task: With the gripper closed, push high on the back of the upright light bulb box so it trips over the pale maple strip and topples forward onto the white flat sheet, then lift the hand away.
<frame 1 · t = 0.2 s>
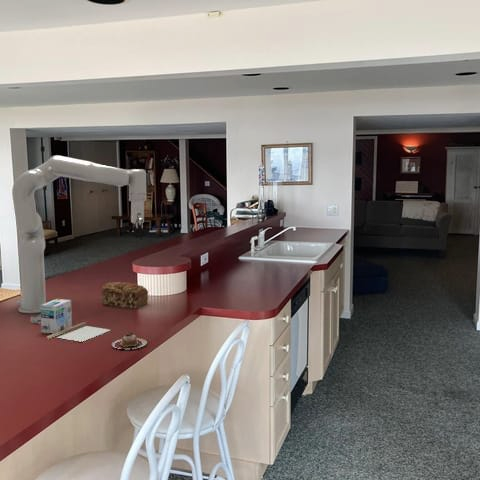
hand: (138, 235, 240), 31 cm above the countertop, tool pointing down, fingers open, 9 cm apart
white flat sheet: (84, 334, 198), on the countertop
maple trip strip: (67, 331, 201), on the countertop
bread: (125, 305, 243), on the countertop
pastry: (129, 347, 187), on the countertop
light bulb box: (57, 330, 204), on the countertop
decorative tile: (51, 321, 216), on the countertop
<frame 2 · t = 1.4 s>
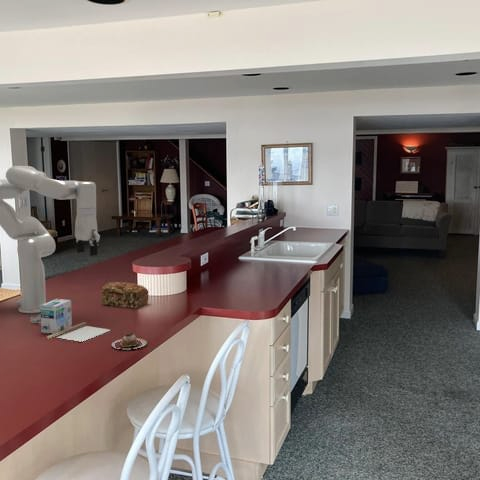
hand: (87, 253, 221), 26 cm above the countertop, tool pointing down, fingers open, 9 cm apart
nothing on the countertop moved.
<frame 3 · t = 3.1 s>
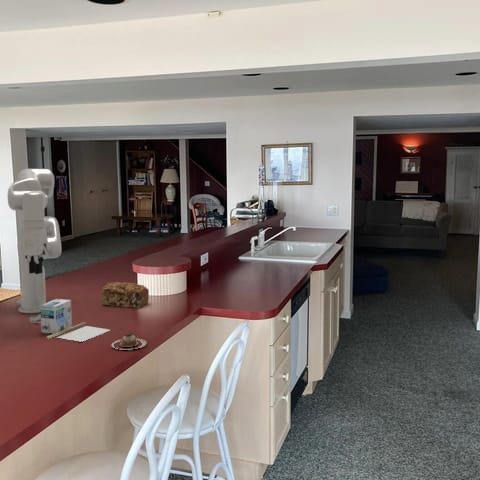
hand: (35, 272, 205), 21 cm above the countertop, tool pointing down, fingers closed
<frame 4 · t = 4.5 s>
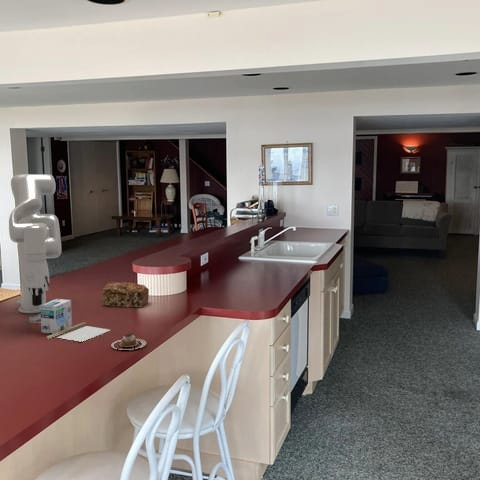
hand: (37, 304, 206), 9 cm above the countertop, tool pointing down, fingers closed
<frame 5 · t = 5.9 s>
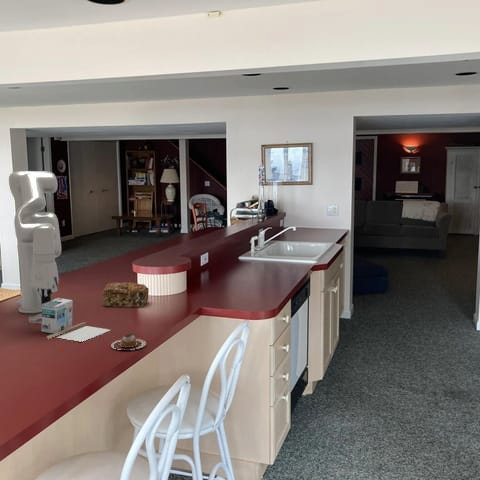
hand: (46, 305, 204), 9 cm above the countertop, tool pointing down, fingers closed
light bulb box: (57, 329, 204), on the countertop, touching gripper
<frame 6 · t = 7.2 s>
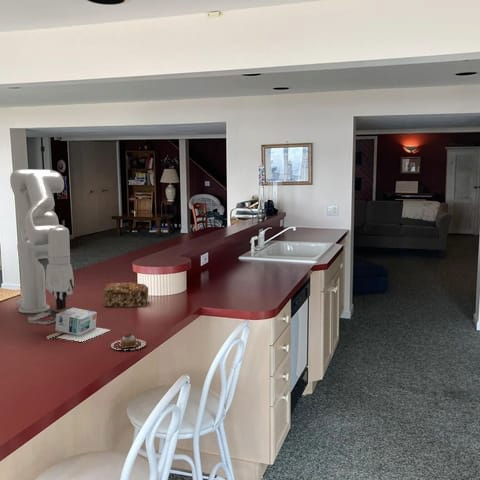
hand: (61, 308, 201), 9 cm above the countertop, tool pointing down, fingers closed
light bulb box: (63, 318, 202), point 5 cm above the countertop, touching white flat sheet, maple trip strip
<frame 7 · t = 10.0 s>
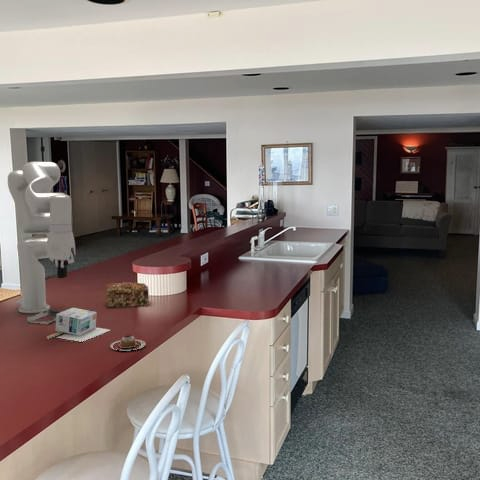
hand: (62, 277, 200), 21 cm above the countertop, tool pointing down, fingers closed
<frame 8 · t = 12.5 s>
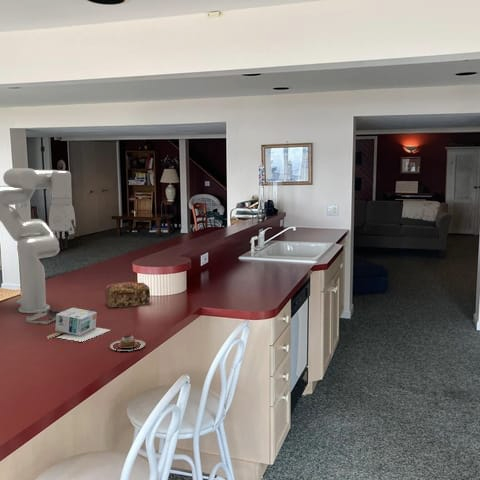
hand: (63, 248, 214), 29 cm above the countertop, tool pointing down, fingers closed
at the end: light bulb box tilted 95°; light bulb box inside the target area (9.3 cm from its centre), point 4.6 cm above the countertop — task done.
